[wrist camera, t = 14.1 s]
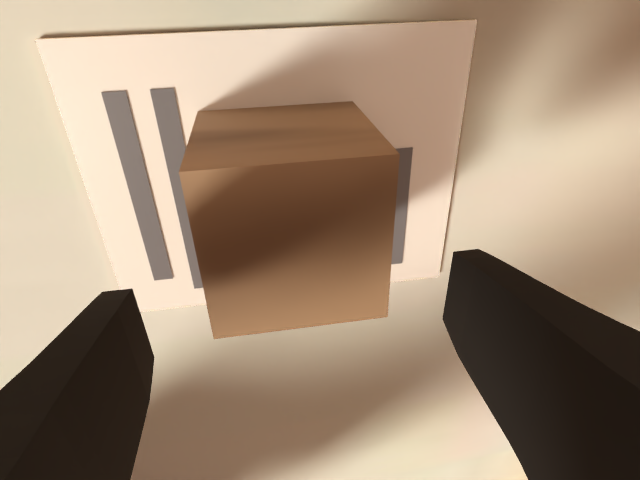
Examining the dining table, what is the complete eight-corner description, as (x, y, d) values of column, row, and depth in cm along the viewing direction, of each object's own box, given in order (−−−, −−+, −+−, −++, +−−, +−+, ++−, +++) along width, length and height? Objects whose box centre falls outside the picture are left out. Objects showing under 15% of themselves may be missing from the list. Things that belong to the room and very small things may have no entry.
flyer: (437, 274, 19) (439, 277, 19) (129, 310, 17) (127, 314, 17) (474, 19, 14) (478, 20, 13) (37, 38, 12) (34, 39, 12)
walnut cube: (350, 231, 17) (387, 316, 13) (220, 244, 16) (214, 338, 12) (352, 101, 14) (399, 153, 10) (197, 111, 14) (178, 171, 9)
